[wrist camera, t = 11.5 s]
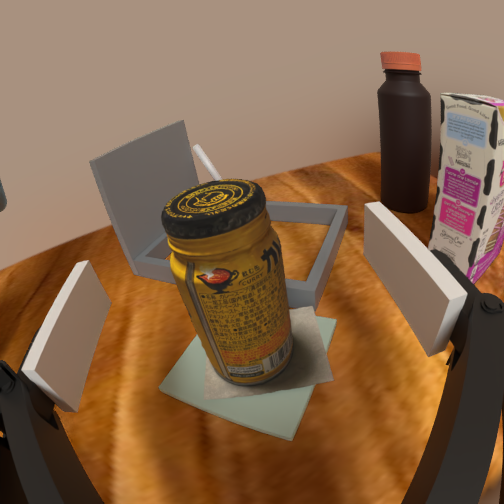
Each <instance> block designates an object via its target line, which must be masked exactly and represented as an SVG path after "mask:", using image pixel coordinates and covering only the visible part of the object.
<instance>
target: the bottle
mask: <svg viewBox="0 0 504 504" xmlns="http://www.w3.org/2000/svg"><path fill="white" fill-rule="evenodd" d="M380 54H381V62H382V68H383V69H385V71H383V72H384V73H385V74H386V81H385V82H384V83H383V84H382V86H381V87H380V88H379V89H378V92H377V94H378V106H379V120H380V143H381V201H382V203H383V204H384V205H385V206H387V207H388V208H390V209H392V210H395V211H399V212H405V213H413V212H419V211H421V210H423V209H424V208H426V207H427V203H428V195H429V183H430V166H431V96H430V93H429V92H428V91H427V90H426V89H425V87H424V86H423V85H422V84H421V83H420V77H419V75H421V73H419V71H421V62H420V55H419V54H416V53H406V52H381V53H380Z"/></svg>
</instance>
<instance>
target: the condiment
mask: <svg viewBox="0 0 504 504" xmlns="http://www.w3.org/2000/svg"><path fill="white" fill-rule="evenodd" d="M161 221H162V225H163V227H164V229H165V232H166V234H167V237H168V245H169V248H170V249H171V251H172V253H171V258H170V268H171V272H172V275H173V277H174V280H175V282H176V285H177V287H178V290H179V292H180V295H181V297H182V299H183V302H184V304H185V306H186V308H187V310H188V312H189V315H190V318H191V321H192V323H193V326H194V328H195V330H196V332H197V335H198V337H199V339H200V340H201V345H202V347H203V348H204V350H205V352H206V370H205V381H204V400H210V399H225V398H235V397H246V396H253V395H261V394H266V393H273V392H276V391H281V390H290V389H295V388H303V387H307V386H311V385H315V384H318V383H325V382H329V381H334V378H333V375H332V372H331V369H330V365H329V361H328V358H327V355H326V351H325V348H324V344H323V340H322V337H321V334H320V330H319V327H318V323H317V320H316V316H315V313H314V309H313V306H309V307H301V308H298V309H293V310H291V309H290V310H289V304H288V296H287V290H286V283H285V274H284V266H283V259H282V252H281V244H280V240H279V237H278V235H277V233H276V232H275V231H274V229H273V228H272V226H270V224H271V221H270V216H269V213H268V211H267V210H266V197H265V194H264V192H263V190H262V188H261V187H260V186H259V185H258V184H257V183H254V182H251V181H248V180H242V179H225V180H224V179H223V180H217V181H211V182H207V183H204V184H200V185H197V186H194V187H191V188H189V189H187V190H185V191H183V192H181V193H179V194H178V195H176V196H175V197H173V198H172V199H171V200H170V201H168V202H167V203H166V205H165V207H164V209H163V211H162V215H161Z"/></svg>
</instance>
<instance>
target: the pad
mask: <svg viewBox="0 0 504 504" xmlns="http://www.w3.org/2000/svg"><path fill="white" fill-rule="evenodd" d="M316 320H317V323H318V327H319V330H320V334H321V337H322V340H323V344H324V348H325V351H326V354H327V351H328V348H329V346H330V343H331V340H332V337H333V334H334V331H335V328H336V323H337V319H331V318H325V317H319V316H316ZM205 370H206V352H205V350H204V348H203V347H202V345H201V340H200V339H199V337H198V335H196V337H195V338H194V339H193V341H192V342H191V343H190V345H189V346H188V347H187V349H186V350H185V352H184V353H183V354H182V356H181V357H180V358H179V360H178V361H177V363H176V364H175V365H174V367H173V368H172V369H171V371H170V372H169V373H168V375H167V376H166V378H165V379H164V380H163V382H162V383H161V384H160V386H159V387H158V388H159V389H160V391H161V392H163V393H165V394H167V395H169V396H172V397H174V398H176V399H178V400H180V401H182V402H185V403H187V404H189V405H191V406H194V407H196V408H198V409H201V410H203V411H205V412H208V413H210V414H213V415H215V416H218V417H220V418H223V419H226V420H228V421H231V422H234V423H236V424H239V425H242V426H245V427H248V428H251V429H253V430H256V431H259V432H263V433H266V434H269V435H272V436H275V437H279V438H282V439H285V440H289V441H292V440H293V438H294V436H295V433H296V431H297V429H298V426H299V424H300V422H301V419H302V417H303V415H304V412H305V410H306V407H307V405H308V402H309V400H310V397H311V395H312V392H313V390H314V387H315V385H311V386H307V387H303V388H295V389H290V390H281V391H276V392H273V393H266V394H261V395H253V396H246V397H235V398H225V399H210V400H204V381H205Z"/></svg>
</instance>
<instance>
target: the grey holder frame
mask: <svg viewBox="0 0 504 504" xmlns="http://www.w3.org/2000/svg"><path fill="white" fill-rule="evenodd" d="M193 149H194V151H195V153H196V154H197V155H198V157H199V158H200V160H201V161H202V163H203V164H204V166H205V167H206V168H207V170H208V171H209V173H210V174H211V176H212V177H213V179H214V180H215V181H217V180H223V179H222V177H221V176H220V174H219V173H218V171H217V170H216V169H215V167H214V166H213V164H212V163H211V161H210V160H209V158H208V157H207V155H206V154H205V153H204V151H203V150H202V148H201V147H200V145H199V144H197V145H195V146H194V147H193ZM89 163H90V166H91V169H92V171H93V174H94V177H95V180H96V183H97V186H98V189H99V191H100V194H101V197H102V200H103V202H104V205H105V207H106V210H107V213H108V215H109V218H110V220H111V223H112V225H113V228H114V230H115V233H116V235H117V237H118V240H119V242H120V244H121V247H122V249H123V251H124V254H125V256H126V258H127V260H128V263H129V265H130V267H131V269H132V271H133V274H134V275H138V276H142V277H146V278H151V279H155V280H159V281H164V282H168V283H172V284H176V282H175V280H174V277H173V275H172V272H171V268H170V260H164V259H165V258H166V257H167V256H168V255H169V254H170V253H171V252H172V251H171V249H170V248H169V245H168V237H167V234H166V232H165V229H164V227H163V225H162V221H161V215H162V211H163V209H164V207H165V205H166V203H167V202H168V201H170V200H171V199H172V198H173V197H175V196H176V195H178V194H179V193H181V192H183V191H185V190H187V189H189V188H191V187H194V186H197V185H199V181H198V177H197V173H196V169H195V165H194V161H193V157H192V153H191V149H190V145H189V140H188V137H187V133H186V128H185V124H184V120H181V121H177V122H175V123H172V124H169V125H167V126H164V127H162V128H160V129H157V130H155V131H152V132H150V133H148V134H145V135H143V136H141V137H138V138H136V139H134V140H132V141H130V142H128V143H126V144H123V145H121V146H119V147H117V148H115V149H113V150H111V151H109V152H107V153H105V154H103V155H101V156H99V157H97V158H95V159H93V160H91V161H90V162H89ZM266 210H267V211H268V213H269V216H270V220H272V221H286V222H299V223H312V224H324V225H331V226H330V229H329V231H328V233H327V236H326V238H325V240H324V243H323V245H322V247H321V250H320V252H319V254H318V256H317V259H316V261H315V263H314V265H313V268H312V270H311V272H310V274H309V276H308V279H307V281H306V282H305V281H298V280H291V279H285V283H286V290H287V296H288V304H289V307H291V308H297V309H298V308H301V307H309V306H313V309H314V311H315V312H316V309H317V307H318V304H319V302H320V299H321V297H322V294H323V291H324V289H325V286H326V283H327V281H328V278H329V275H330V272H331V270H332V267H333V264H334V261H335V259H336V256H337V253H338V250H339V247H340V244H341V241H342V238H343V235H344V232H345V229H346V226H347V223H348V206H344V205H330V204H314V203H296V202H275V201H266Z"/></svg>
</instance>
